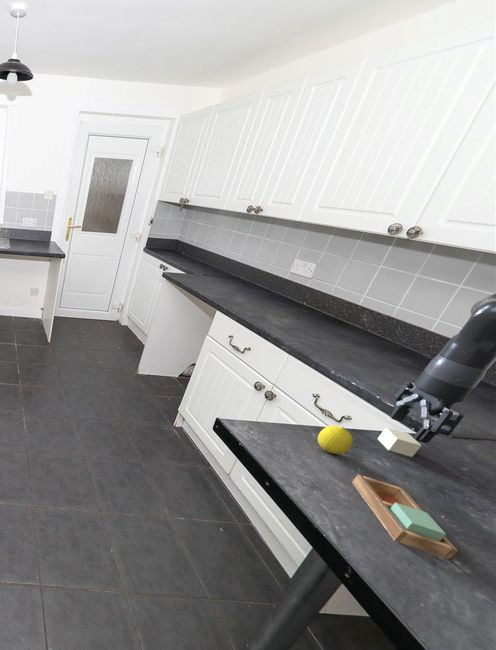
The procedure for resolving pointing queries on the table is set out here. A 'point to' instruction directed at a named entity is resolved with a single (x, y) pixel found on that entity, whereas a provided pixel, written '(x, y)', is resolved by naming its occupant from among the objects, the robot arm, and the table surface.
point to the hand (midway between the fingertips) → (406, 429)
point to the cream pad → (399, 442)
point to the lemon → (335, 439)
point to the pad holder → (380, 502)
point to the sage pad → (417, 521)
